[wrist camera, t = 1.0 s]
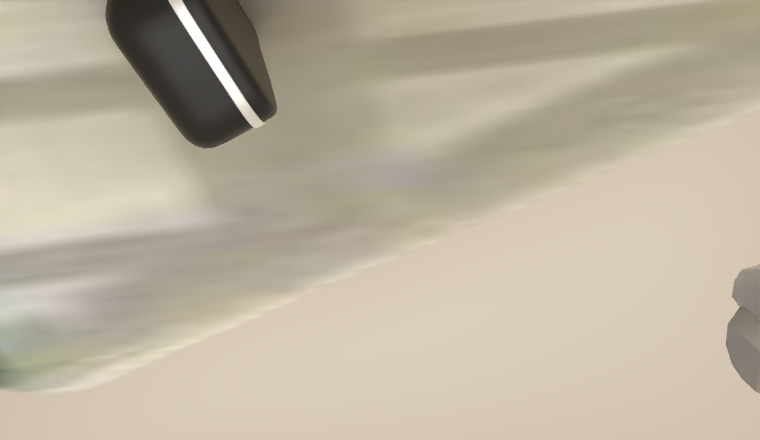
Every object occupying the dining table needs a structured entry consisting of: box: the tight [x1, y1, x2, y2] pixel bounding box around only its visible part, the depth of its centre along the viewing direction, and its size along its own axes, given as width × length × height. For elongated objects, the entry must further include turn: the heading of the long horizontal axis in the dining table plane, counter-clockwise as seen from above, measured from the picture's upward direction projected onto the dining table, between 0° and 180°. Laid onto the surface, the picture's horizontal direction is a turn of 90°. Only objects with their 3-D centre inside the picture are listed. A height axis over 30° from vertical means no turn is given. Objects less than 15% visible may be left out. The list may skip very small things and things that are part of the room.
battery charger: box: [106, 0, 277, 148], centre depth 30 cm, size 7×4×11 cm, turn 26°
